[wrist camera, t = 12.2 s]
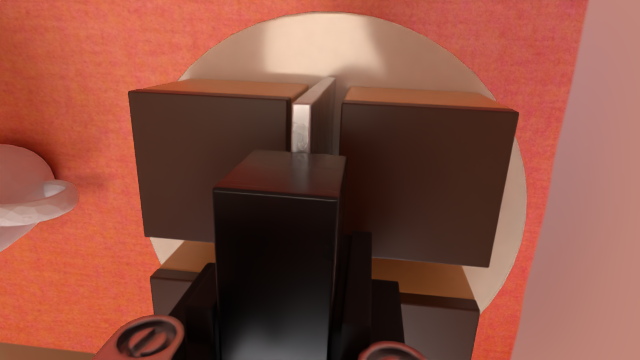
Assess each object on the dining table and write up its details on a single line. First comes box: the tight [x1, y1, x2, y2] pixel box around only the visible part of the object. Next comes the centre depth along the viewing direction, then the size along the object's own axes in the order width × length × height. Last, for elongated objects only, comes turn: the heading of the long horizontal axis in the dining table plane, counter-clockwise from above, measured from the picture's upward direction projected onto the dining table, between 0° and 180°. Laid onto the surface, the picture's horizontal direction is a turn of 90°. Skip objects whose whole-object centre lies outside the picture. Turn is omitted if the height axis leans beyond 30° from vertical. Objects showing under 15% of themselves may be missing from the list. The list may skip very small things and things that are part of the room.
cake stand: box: [150, 11, 527, 314], centre depth 24 cm, size 15×15×18 cm
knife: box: [212, 77, 348, 360], centre depth 11 cm, size 10×2×8 cm, turn 178°
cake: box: [128, 78, 519, 360], centre depth 14 cm, size 10×10×4 cm
